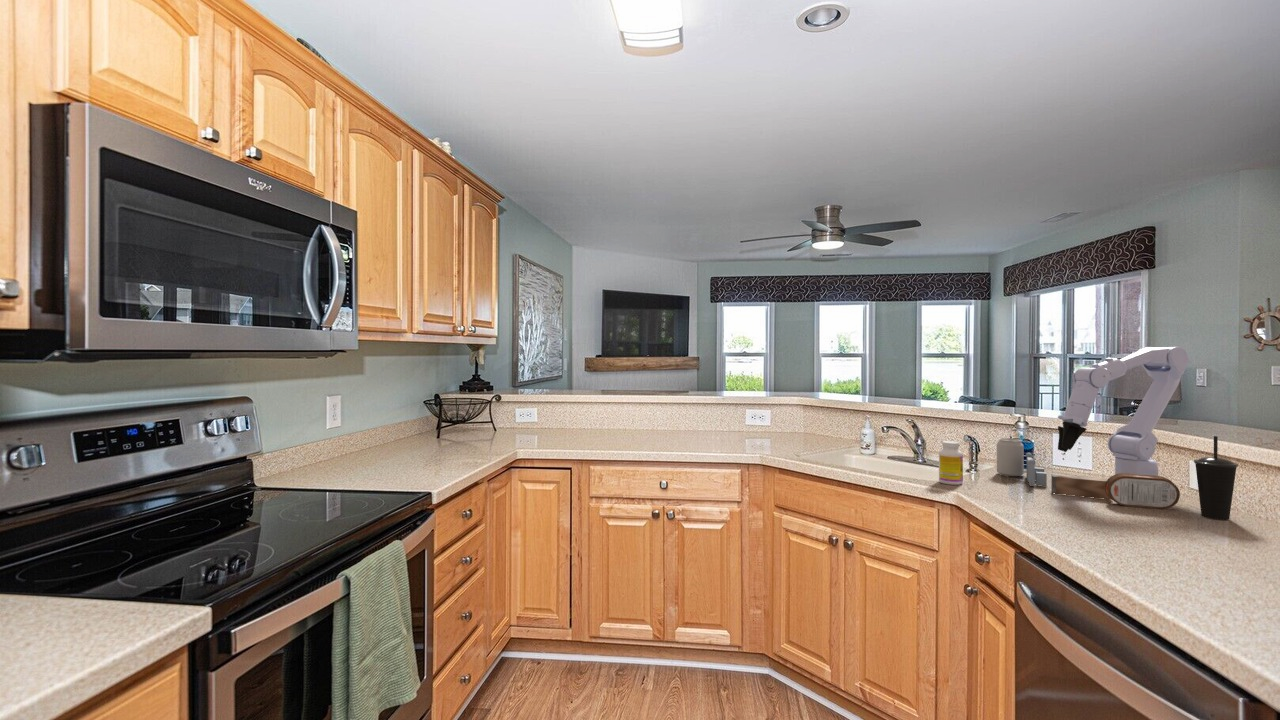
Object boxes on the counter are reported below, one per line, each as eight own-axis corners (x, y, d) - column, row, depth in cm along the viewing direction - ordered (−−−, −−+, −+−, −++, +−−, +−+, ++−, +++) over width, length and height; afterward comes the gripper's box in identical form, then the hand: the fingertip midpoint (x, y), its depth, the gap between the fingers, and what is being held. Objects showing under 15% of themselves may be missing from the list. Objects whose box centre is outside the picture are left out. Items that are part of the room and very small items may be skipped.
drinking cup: (1230, 524, 134) (1231, 439, 133) (1187, 515, 140) (1188, 435, 140) (1243, 519, 137) (1243, 437, 137) (1201, 511, 144) (1201, 433, 144)
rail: (1108, 496, 159) (1108, 478, 159) (1111, 499, 156) (1111, 481, 156) (1051, 491, 166) (1051, 473, 166) (1053, 494, 163) (1053, 476, 163)
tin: (1176, 508, 147) (1176, 476, 147) (1181, 511, 144) (1181, 478, 144) (1104, 502, 153) (1104, 471, 153) (1107, 505, 151) (1107, 474, 150)
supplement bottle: (964, 486, 173) (964, 444, 173) (940, 484, 176) (940, 443, 175) (961, 481, 179) (961, 441, 179) (937, 479, 182) (937, 440, 182)
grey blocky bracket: (1042, 478, 181) (1042, 453, 181) (1047, 488, 169) (1047, 460, 169) (1025, 477, 184) (1025, 451, 183) (1028, 486, 171) (1028, 459, 171)
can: (1029, 477, 183) (1029, 440, 183) (1005, 477, 184) (1005, 440, 183) (1014, 472, 191) (1014, 437, 191) (991, 472, 191) (991, 437, 191)
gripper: (1059, 405, 174) (1044, 446, 174) (1067, 397, 162) (1051, 442, 161) (1087, 413, 170) (1072, 455, 170) (1097, 406, 158) (1081, 451, 158)
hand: (1064, 449), depth 165 cm, fingers open, 7 cm apart
